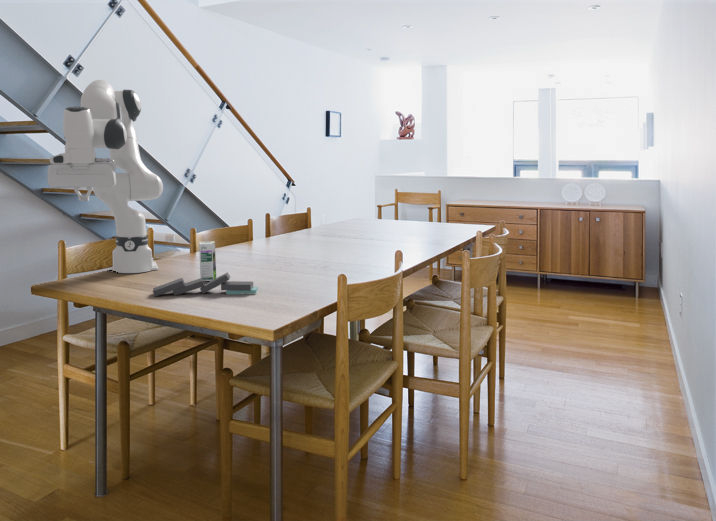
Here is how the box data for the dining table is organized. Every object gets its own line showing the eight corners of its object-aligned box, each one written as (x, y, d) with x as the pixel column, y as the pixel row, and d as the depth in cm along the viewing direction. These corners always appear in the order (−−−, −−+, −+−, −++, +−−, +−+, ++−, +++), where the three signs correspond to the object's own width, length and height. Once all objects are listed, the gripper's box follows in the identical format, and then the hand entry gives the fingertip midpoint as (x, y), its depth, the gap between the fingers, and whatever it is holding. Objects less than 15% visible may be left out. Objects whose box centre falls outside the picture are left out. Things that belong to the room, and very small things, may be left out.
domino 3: (199, 288, 193) (226, 274, 194) (201, 286, 198) (227, 272, 198) (202, 293, 194) (229, 279, 194) (204, 290, 198) (230, 277, 199)
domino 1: (152, 291, 189) (182, 280, 191) (153, 288, 194) (182, 277, 196) (155, 296, 189) (184, 286, 191) (155, 293, 194) (184, 282, 196)
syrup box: (200, 282, 212) (199, 243, 209) (200, 278, 217) (198, 241, 215) (216, 281, 213) (215, 243, 211) (215, 278, 219) (214, 240, 216)
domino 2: (172, 290, 191) (202, 280, 193) (172, 287, 196) (201, 277, 198) (174, 295, 191) (204, 286, 194) (174, 292, 196) (203, 283, 198)
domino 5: (226, 290, 194) (256, 290, 194) (228, 287, 199) (257, 286, 199) (226, 296, 194) (256, 295, 195) (228, 292, 199) (257, 292, 200)
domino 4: (220, 284, 193) (250, 284, 193) (224, 281, 198) (253, 281, 198) (221, 290, 194) (250, 290, 194) (224, 286, 199) (253, 287, 199)
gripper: (116, 158, 191) (119, 199, 193) (49, 157, 186) (53, 200, 189) (113, 158, 185) (116, 201, 187) (43, 157, 180) (47, 201, 183)
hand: (84, 200), depth 188 cm, fingers closed
